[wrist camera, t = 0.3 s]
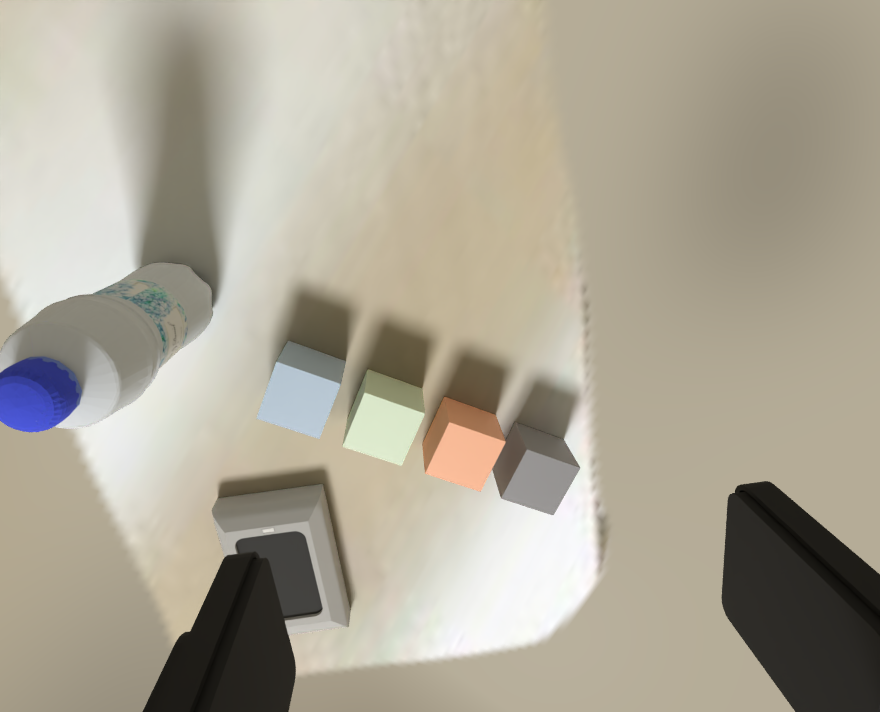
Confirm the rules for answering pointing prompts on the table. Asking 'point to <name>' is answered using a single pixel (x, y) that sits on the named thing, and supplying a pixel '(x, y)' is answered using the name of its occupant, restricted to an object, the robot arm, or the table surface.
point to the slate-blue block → (302, 389)
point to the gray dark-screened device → (290, 551)
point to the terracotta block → (462, 444)
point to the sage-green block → (384, 418)
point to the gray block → (534, 469)
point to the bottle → (99, 348)
